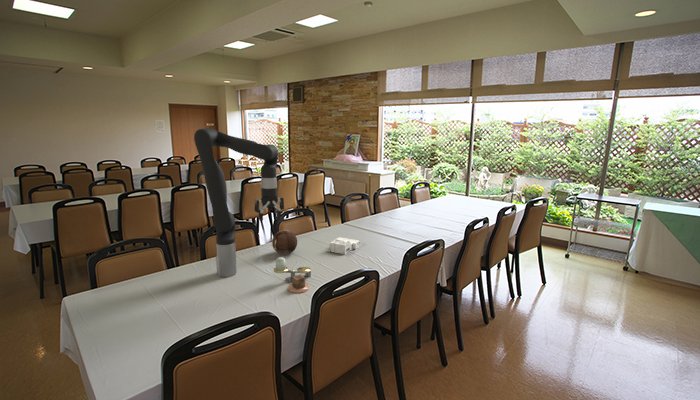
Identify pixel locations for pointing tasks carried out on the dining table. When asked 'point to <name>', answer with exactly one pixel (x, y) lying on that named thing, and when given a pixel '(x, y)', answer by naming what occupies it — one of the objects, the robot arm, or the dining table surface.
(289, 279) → the balance
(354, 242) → the house
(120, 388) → the dining table surface
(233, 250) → the robot arm
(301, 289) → the terracotta saucer
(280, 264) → the grey cup
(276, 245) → the wooden sphere
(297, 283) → the walnut block
